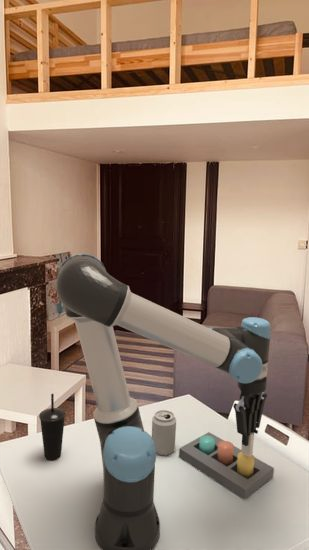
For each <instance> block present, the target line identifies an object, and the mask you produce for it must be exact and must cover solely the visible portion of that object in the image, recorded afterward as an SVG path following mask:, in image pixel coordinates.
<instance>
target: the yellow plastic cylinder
mask: <svg viewBox="0 0 309 550" xmlns="http://www.w3.org/2000/svg"><path fill="white" fill-rule="evenodd" d="M254 457H255V456H254V454H252V456H250V457H248V456H246V455H244V454H243V453H241V452H240V453H238V459H237V473H238V474H240V475H241V476H243V477H245V478H250V477H252V476H253V470H254Z"/></svg>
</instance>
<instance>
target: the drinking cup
mask: <svg viewBox="0 0 309 550" xmlns="http://www.w3.org/2000/svg"><path fill="white" fill-rule="evenodd" d="M54 394H55V393H51V394H50V397H51V398H50V402H51V404H50V406H51V407H49V408H46V409H44V410H42V411H41V412H40V413H39V415H38V418H39V420H40V429H41V435H42V436H41V437H42V445H43V454H44V455H43V456H44V459H45V460H46V461H50V462H51V461H54V462H55V461H56V460H59V459H60V458H61V457H62V450H63V449H62V448H63V447H62V446H63V438H64V437H63V435H64V425H65V418H66V415H67V414H66V410H64V408H61V407H60V408H59V407H55V405H54V404H55V402H54V398H55V397H54Z"/></svg>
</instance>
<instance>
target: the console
mask: <svg viewBox="0 0 309 550" xmlns="http://www.w3.org/2000/svg"><path fill="white" fill-rule="evenodd" d="M204 435H208V436H211V437H213V438H214V439H215V446H214V452H213V453H211V454H210V455H207V454H205V453H203V452H202V451H200V450H199V443H200V437H201V436H199V437H197V438H195V439H193V440H191V441H190V442H188V443H186V444H185V445H183V446H181V447H179V450H178V451H179V452H178V458H180V459H181V460H182V461H184V462H186V463H187V464H188V465H190V466H192V467H193V466H194V467H193V468H195V469H196V468H197V469H196V470H198V471H199V470H200V471H199V472H201V473H202V474H204V475H205V474H206V476H207V477H209V478H210V479H212V480H213V481H215V482H216V483H218V484H219V485H221V486H223V488H225V489H227V490H229V491H230V492H232V493H233V494H235V495H236V496H238V498H241V499H242V500H243V501H246V500H247V499H248V498H249V497H250V496H252V495H253V494H254V493H255V492H257V491H258V490H260V488H262V487H263V486H264V485H266V483H268V482H269V481H271V480H272V479H274V474H275V473H274V471H275V467H273V466H271V465H269V463H266V462H264V461H262V460H260V459H259V458H257V457H256V456H254V470H253V476H252V477H250V478H245V477H243V476H241V475H240V474H238V473H237V459H238V453H240V452H241V449H240V448H239V447H236V446H235V445H234V452H233V463H232V464H231V465H229V466H225V465H223V464H222V463H220V462H218V461H217V453H218V443H219V442H221V441H225V440H224V439H223V438H220V437H219V436H217V435H215V434H213V433H211V432H209V431H208V432H206V433H205V434H202V436H204Z"/></svg>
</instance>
